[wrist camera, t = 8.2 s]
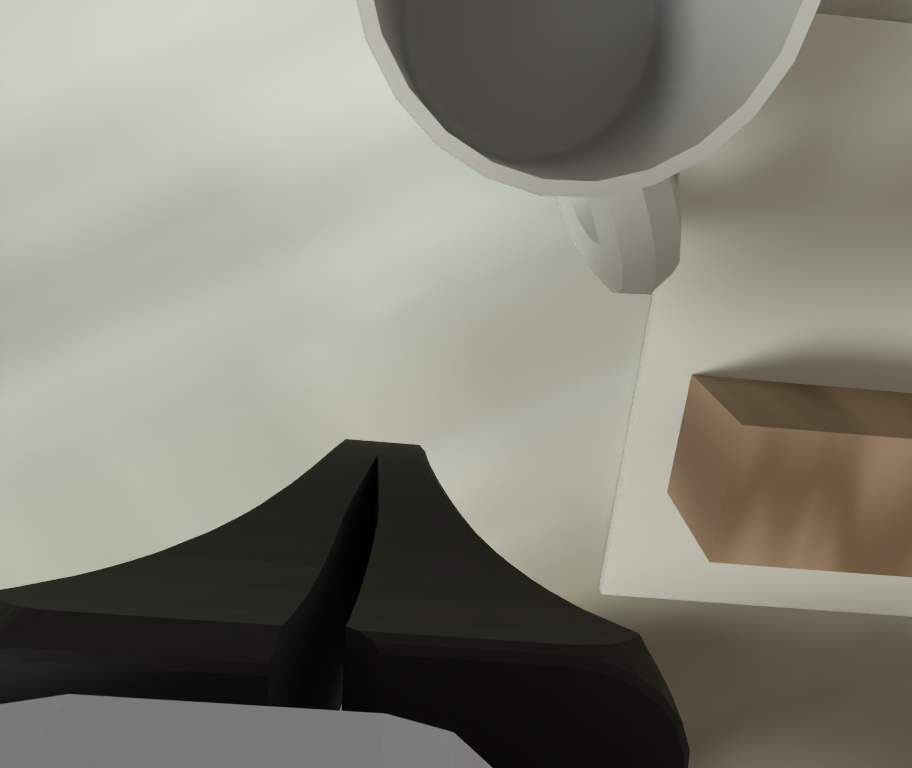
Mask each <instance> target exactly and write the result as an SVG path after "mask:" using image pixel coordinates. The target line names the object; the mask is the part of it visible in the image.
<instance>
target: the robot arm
mask: <svg viewBox="0 0 912 768" xmlns="http://www.w3.org/2000/svg"><path fill="white" fill-rule="evenodd" d="M341 704H342V711H340V708H341ZM689 751H690V750H689V746H688V743H687V739H686V735H685V731H684V727H683V723H682V721H681V718H680V715H679V713H678V710H677V708H676V705H675V703H674V700H673V697H672V695H671V693H670V691H669V689H668V687H667V685H666V683H665V681H664V679H663V677H662V675H661V673H660V671H659V669H658V667H657V665H656V663H655V662H654V660H653V658H652V656H651V655H650V653H649V651H648V650H647V648H646V646H645V644H644V642H643V640H642V638H641V636H640V635H639V633H636V632H634V631H632V630H629V629H627V628H625V627H622V626H620V625H618V624H615V623H613V622H611V621H608V620H606V619H604V618H602V617H599V616H597V615H595V614H592V613H590V612H588V611H585V610H583V609H581V608H579V607H577V606H576V605H574V604H572V603H570V602H568V601H567V600H565V599H563V598H561V597H559V596H558V595H556V594H554V593H552V592H550V591H549V590H547V589H546V588H544V587H542V586H541V585H539V584H538V583H536V582H535V581H533V580H532V579H530V578H529V577H527V576H526V575H525V574H523V573H522V572H521V571H519V570H518V569H517V568H515V567H514V566H512V565H511V564H510V563H508V562H507V561H506V560H505V559H504V558H502V557H501V556H500V555H499V554H497V553H496V552H495V551H494V550H493V549H492V548H491V547H490V546H489V545H488V544H487V543H486V542H485V541H484V540H483V539H482V538H480V537H479V536H478V535H477V534H476V533H475V531H474V530H473V529H472V528H471V527H470V525H469V524H468V523H467V522H466V520H465V519H464V518H463V517H462V515H461V514H460V513H459V512H458V510H457V509H456V507H455V506H454V505H453V503H452V502H451V500H450V499H449V497H448V496H447V494H446V493H445V491H444V489H443V488H442V486H441V485H440V483H439V481H438V480H437V478H436V476H435V474H434V472H433V470H432V468H431V466H430V464H429V462H428V459H427V457H426V453H425V451H424V450H423V449H422V448H421V446H420V445H413V444H400V443H387V442H374V441H361V440H349V439H345V440H344V441H343V442H342V443H340V444H339V445H338V446H337V447H335V448H334V449H333V450H332V451H331V452H329V453H328V454H327V455H326V456H325V457H324V458H322V459H321V460H320V461H319V462H318V463H317V464H315V465H314V466H313V467H312V468H311V469H309V470H308V471H307V472H306V473H304V474H303V475H302V476H300V477H299V478H298V479H297V480H295V481H294V482H293V483H292V484H290V485H289V486H287V487H286V488H284V489H283V490H281V491H280V492H278V493H277V494H275V495H274V496H272V497H271V498H270V499H268V500H267V501H265V502H264V503H262V504H261V505H259V506H257V507H256V508H254V509H252V510H251V511H249V512H247V513H245V514H244V515H242V516H240V517H238V518H236V519H234V520H232V521H230V522H228V523H226V524H224V525H222V526H220V527H218V528H216V529H214V530H212V531H210V532H208V533H205V534H203V535H200V536H198V537H195V538H193V539H190V540H188V541H185V542H183V543H180V544H178V545H175V546H173V547H170V548H168V549H165V550H163V551H160V552H157V553H154V554H152V555H148V556H145V557H142V558H139V559H136V560H133V561H129V562H126V563H123V564H119V565H115V566H112V567H108V568H104V569H101V570H97V571H93V572H89V573H85V574H80V575H76V576H71V577H66V578H61V579H56V580H51V581H46V582H41V583H36V584H30V585H25V586H20V587H15V588H9V589H2V590H0V768H688V762H689Z"/></svg>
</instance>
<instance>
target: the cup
mask: <svg viewBox="0 0 912 768" xmlns="http://www.w3.org/2000/svg"><path fill="white" fill-rule="evenodd" d="M356 1H357V5H358V10H359V14H360V18H361V22H362V27H363V31H364V35H365V39H366V42H367V43H368V45H369V47H370V49H371V51H372V53H373V55H374V57H375V59H376V61H377V63H378V65H379V67H380V69H381V71H382V73H383V75H384V77H385V79H386V81H387V83H388V84H389V86H390V88H391V90H392V92H393V94H394V96H395V98H396V99H397V100H398V102H399V103H400V104H401V105H402V106H403V107H404V108H405V110H406V111H407V112H408V113H409V114H410V115H411V116H412V118H413V119H414V120H415V121H416V122H417V123H418V124H419V126H420V127H421V128H422V129H423V130H424V131H425V133H426V134H427V135H428V136H429V137H430V138H431V139H432V141H433V142H434V143H435V144H436V145H437V146H439V147H440V148H442V149H443V150H445V151H446V152H448V153H449V154H451V155H452V156H454V157H455V158H457V159H458V160H460V161H461V162H463V163H464V164H466V165H467V166H469V167H470V168H472V169H473V170H475V171H476V172H478V173H479V174H481V175H482V176H484V177H485V178H488V179H492V180H495V181H498V182H501V183H504V184H507V185H510V186H513V187H516V188H519V189H522V190H525V191H528V192H531V193H534V194H537V195H540V196H556V199H557V202H558V205H559V208H560V210H561V213H562V216H563V219H564V221H565V224H566V226H567V229H568V231H569V233H570V236H571V238H572V240H573V242H574V244H575V246H576V248H577V250H578V252H579V253H580V255H581V256H582V258H583V259H584V261H585V263H586V264H587V265H588V266H589V268H590V269H591V270H592V271H593V272H594V273H595V274H596V276H597V277H598V278H599V279H600V280H601V281H602V282H603V284H604V285H606V286H607V287H608V288H609V289H610V290H611V291H612V292H617V293H631V294H651V293H652V292H653V291H654V290H655V289H656V288H657V287H658V286H659V285H661V284H662V283H663V282H664V281H665V280H666V279H667V278H668V277H670V276H671V275H672V274H673V272H674V271H675V269H676V267H677V266H678V264H679V263H680V243H681V209H680V202H679V195H678V189H677V185H676V180H675V176H674V174H676V173H678V172H680V171H682V170H684V169H686V168H688V167H690V166H692V165H694V164H696V163H697V162H699V161H701V160H703V159H705V158H707V157H708V156H710V155H711V154H712V153H713V152H714V151H715V150H716V149H718V148H719V147H720V146H721V145H722V144H723V143H725V142H726V141H727V140H728V139H729V138H730V137H731V136H733V135H734V134H735V133H736V132H737V131H738V130H740V129H741V128H742V127H743V126H744V125H745V124H746V123H748V122H749V121H750V120H751V119H752V118H753V117H755V116H756V114H757V113H758V112H759V110H760V109H761V107H762V106H763V105H764V103H765V102H766V100H767V99H768V98H769V96H770V95H771V93H772V92H773V91H774V89H775V88H776V87H777V85H778V84H779V82H780V81H781V80H782V78H783V77H784V75H785V74H786V73H787V71H788V70H789V69H790V67H791V66H792V64H793V63H794V62H795V60H796V57H797V55H798V53H799V50H800V48H801V46H802V43H803V41H804V39H805V36H806V34H807V32H808V29H809V27H810V25H811V23H812V20H813V18H814V16H815V13H816V11H817V9H818V6H819V4H820V2H821V0H356Z"/></svg>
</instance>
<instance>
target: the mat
mask: <svg viewBox="0 0 912 768" xmlns="http://www.w3.org/2000/svg"><path fill="white" fill-rule="evenodd" d="M675 180H676V185H677V189H678V195H679V202H680V209H681V243H680V263H679V264H678V266H677V267H676V269H675V271H674V272H673V274H672V275H671V276H670V277H668V278H667V279H666V280H665V281H664V282H663V283H662V284H661V285H659V286H658V287H657V288H656V289H655V290H654V291H653V296H652V302H651V307H650V313H649V318H648V323H647V329H646V334H645V340H644V345H643V351H642V356H641V361H640V367H639V372H638V378H637V383H636V389H635V394H634V400H633V405H632V410H631V416H630V421H629V427H628V432H627V438H626V443H625V448H624V454H623V459H622V465H621V470H620V476H619V481H618V487H617V492H616V497H615V503H614V508H613V514H612V519H611V525H610V530H609V536H608V541H607V546H606V552H605V557H604V563H603V568H602V574H601V579H600V584H599V589H600V592H601V594H603V595H617V596H631V597H645V598H658V599H672V600H686V601H700V602H714V603H727V604H741V605H755V606H769V607H783V608H797V609H810V610H824V611H838V612H852V613H866V614H879V615H893V616H907V617H912V577H900V576H886V575H873V574H860V573H846V572H833V571H819V570H806V569H793V568H779V567H766V566H752V565H739V564H726V563H712V562H709V561H708V559H707V557H706V556H705V554H704V553H703V551H702V549H701V548H700V546H699V544H698V543H697V541H696V539H695V538H694V536H693V534H692V533H691V531H690V529H689V528H688V526H687V525H686V523H685V521H684V520H683V518H682V516H681V515H680V513H679V511H678V510H677V508H676V506H675V505H674V503H673V502H672V500H671V498H670V497H669V495H668V493H667V490H668V485H669V480H670V475H671V470H672V466H673V461H674V456H675V451H676V447H677V442H678V437H679V432H680V427H681V423H682V418H683V413H684V408H685V404H686V399H687V394H688V389H689V384H690V380H691V375H703V376H715V377H726V378H738V379H750V380H762V381H773V382H785V383H797V384H809V385H820V386H832V387H844V388H856V389H867V390H879V391H891V392H903V393H912V23H906V22H896V21H887V20H878V19H868V18H859V17H849V16H840V15H830V14H821V13H815V16H814V18H813V20H812V23H811V25H810V27H809V29H808V32H807V34H806V36H805V39H804V41H803V43H802V46H801V48H800V50H799V53H798V55H797V57H796V60H795V62H794V63H793V64H792V66H791V67H790V69H789V70H788V71H787V73H786V74H785V75H784V77H783V78H782V80H781V81H780V82H779V84H778V85H777V87H776V88H775V89H774V91H773V92H772V93H771V95H770V96H769V98H768V99H767V100H766V102H765V103H764V105H763V106H762V107H761V109H760V110H759V112H758V113H757V114H756V116H755V117H753V118H752V119H751V120H750V121H749V122H748V123H746V124H745V125H744V126H743V127H742V128H741V129H740V130H738V131H737V132H736V133H735V134H734V135H733V136H731V137H730V138H729V139H728V140H727V141H726V142H725V143H723V144H722V145H721V146H720V147H719V148H718V149H716V150H715V151H714V152H713V153H712V154H711V155H710V156H708V157H707V158H705V159H703V160H701V161H699V162H697V163H696V164H694V165H692V166H690V167H688V168H686V169H684V170H682V171H680V172H678V173H676V174H675Z"/></svg>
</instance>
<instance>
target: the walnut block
mask: <svg viewBox="0 0 912 768" xmlns="http://www.w3.org/2000/svg"><path fill="white" fill-rule="evenodd" d="M667 493H668V495H669V497H670V498H671V500H672V502H673V503H674V505H675V506H676V508H677V510H678V511H679V513H680V515H681V516H682V518H683V520H684V521H685V523H686V525H687V526H688V528H689V529H690V531H691V533H692V534H693V536H694V538H695V539H696V541H697V543H698V544H699V546H700V548H701V549H702V551H703V553H704V554H705V556H706V557H707V559H708V561H709V562H712V563H726V564H739V565H752V566H766V567H779V568H793V569H806V570H819V571H833V572H846V573H860V574H873V575H886V576H900V577H912V393H903V392H891V391H879V390H867V389H856V388H844V387H832V386H820V385H809V384H797V383H785V382H773V381H762V380H750V379H738V378H726V377H715V376H703V375H691V380H690V384H689V389H688V394H687V399H686V404H685V408H684V413H683V418H682V423H681V427H680V432H679V437H678V442H677V447H676V451H675V456H674V461H673V466H672V470H671V475H670V480H669V485H668V490H667Z"/></svg>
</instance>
